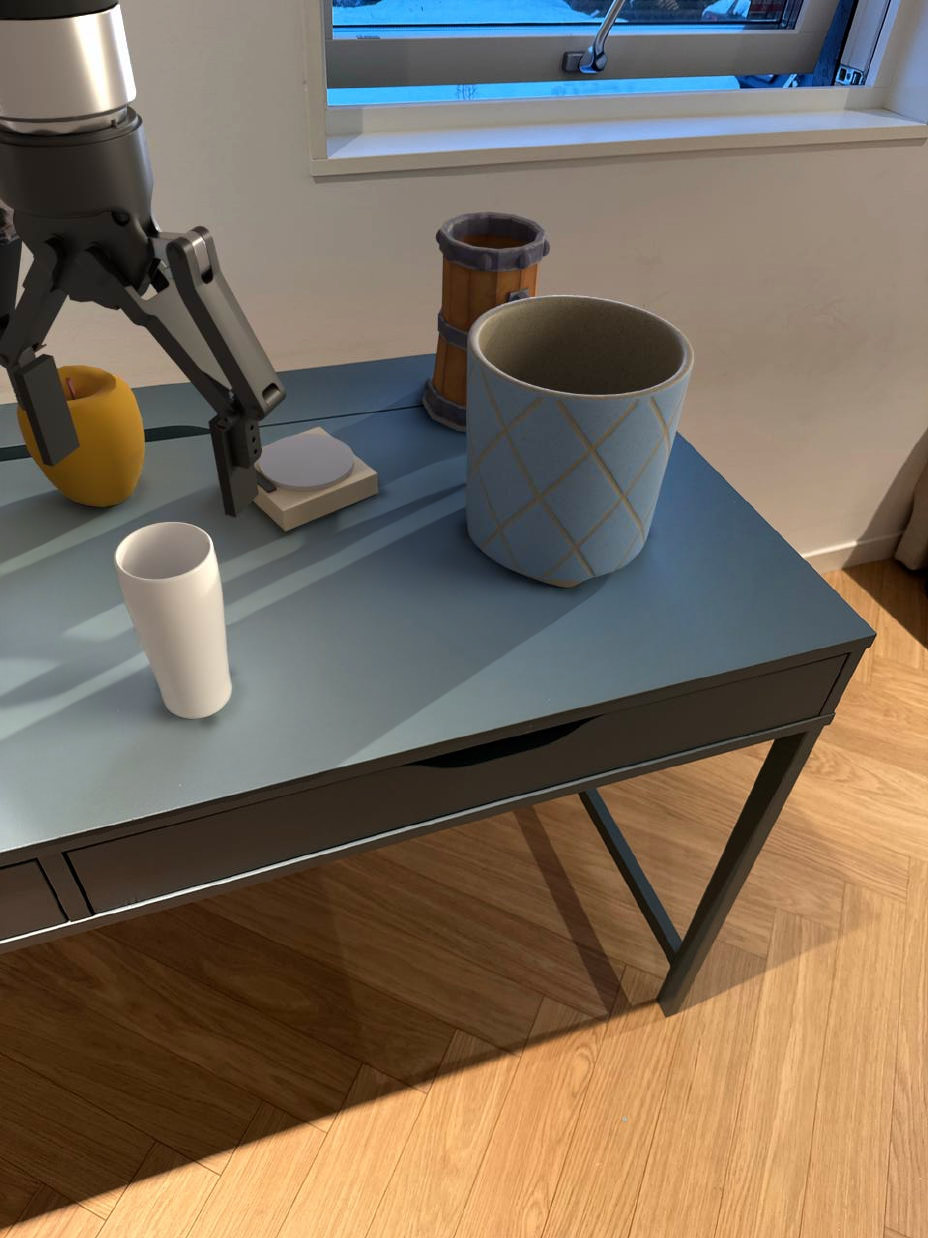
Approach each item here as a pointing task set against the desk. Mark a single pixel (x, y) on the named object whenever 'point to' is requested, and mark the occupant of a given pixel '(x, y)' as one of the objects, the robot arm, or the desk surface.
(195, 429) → the desk surface
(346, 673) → the desk surface
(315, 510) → the scale
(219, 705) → the drinking glass
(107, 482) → the apple
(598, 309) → the planter
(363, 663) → the desk surface
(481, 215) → the mug
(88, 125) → the robot arm
